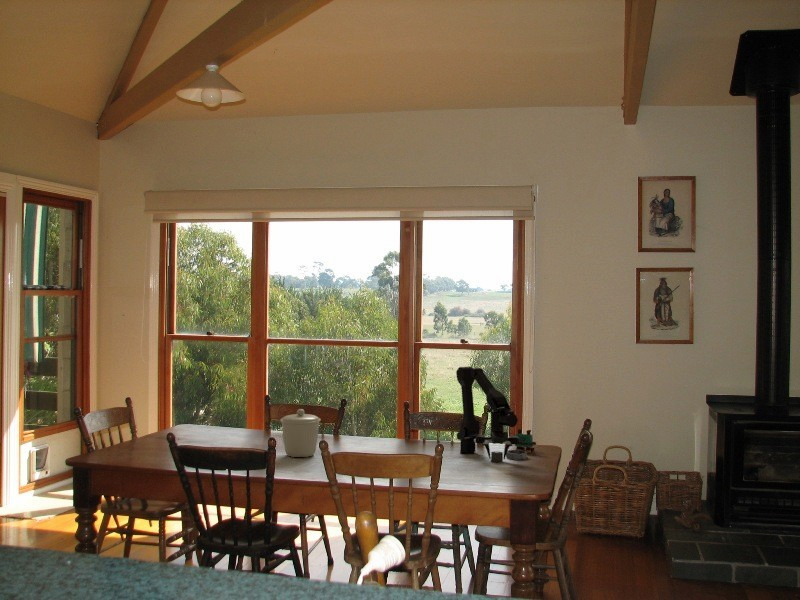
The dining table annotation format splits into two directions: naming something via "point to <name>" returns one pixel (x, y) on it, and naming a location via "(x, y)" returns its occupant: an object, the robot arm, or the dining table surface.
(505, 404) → the robot arm
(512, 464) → the dining table surface
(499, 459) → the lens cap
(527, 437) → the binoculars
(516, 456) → the barrel ring
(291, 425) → the canister
